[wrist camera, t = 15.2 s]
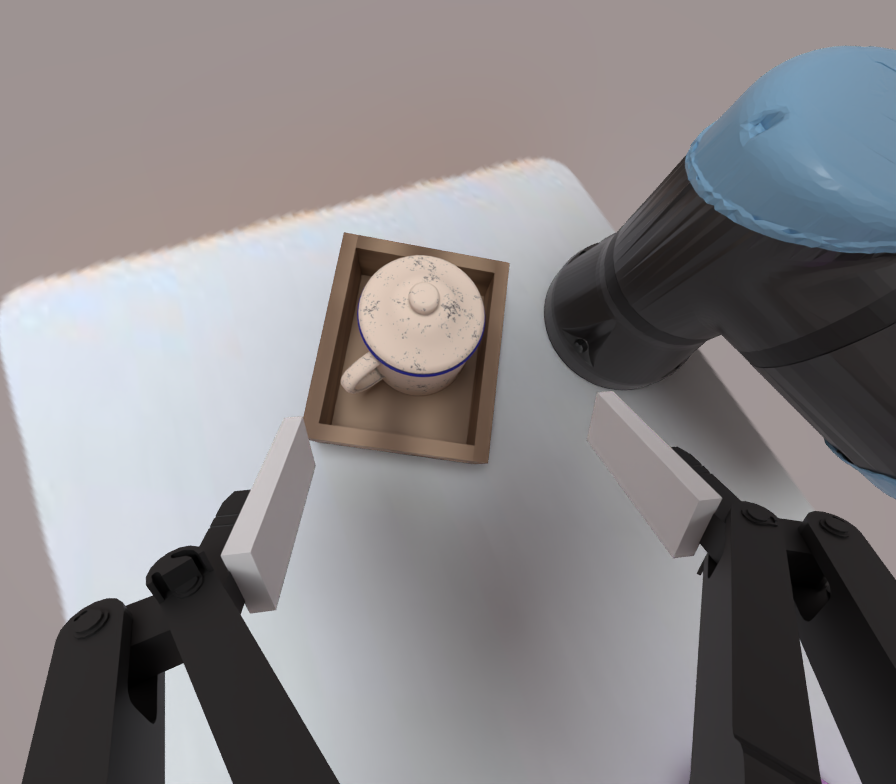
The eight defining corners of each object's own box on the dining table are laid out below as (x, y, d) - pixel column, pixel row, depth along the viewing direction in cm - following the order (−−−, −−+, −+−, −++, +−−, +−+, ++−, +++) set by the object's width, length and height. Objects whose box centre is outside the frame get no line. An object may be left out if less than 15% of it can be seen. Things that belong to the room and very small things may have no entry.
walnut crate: (494, 292, 38) (509, 262, 32) (475, 464, 34) (487, 463, 29) (353, 266, 37) (343, 232, 31) (316, 442, 33) (299, 436, 28)
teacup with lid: (425, 288, 36) (434, 205, 25) (486, 359, 35) (524, 307, 24) (322, 362, 33) (279, 307, 22) (385, 440, 33) (374, 425, 21)
